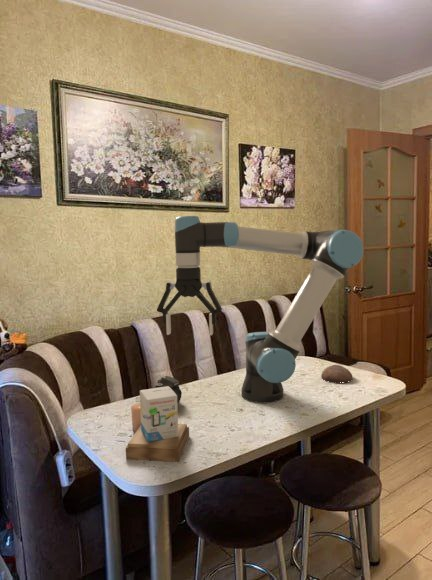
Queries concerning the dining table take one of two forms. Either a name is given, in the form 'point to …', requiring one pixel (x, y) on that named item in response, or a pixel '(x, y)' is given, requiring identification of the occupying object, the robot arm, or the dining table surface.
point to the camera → (170, 385)
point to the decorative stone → (336, 374)
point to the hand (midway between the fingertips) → (189, 334)
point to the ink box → (159, 413)
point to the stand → (158, 446)
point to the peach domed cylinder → (136, 416)
